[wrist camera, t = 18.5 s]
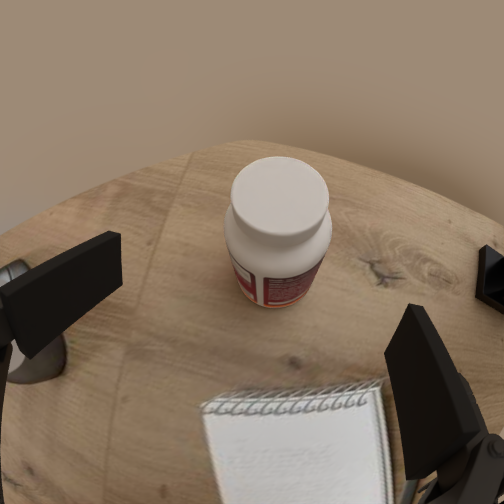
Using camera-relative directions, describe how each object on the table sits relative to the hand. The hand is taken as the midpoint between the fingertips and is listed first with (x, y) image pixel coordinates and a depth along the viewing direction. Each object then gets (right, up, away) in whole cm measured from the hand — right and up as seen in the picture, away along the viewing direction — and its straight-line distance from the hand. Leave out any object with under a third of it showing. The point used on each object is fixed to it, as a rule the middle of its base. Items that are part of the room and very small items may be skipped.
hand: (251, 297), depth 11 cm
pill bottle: (+2, 0, +11) cm, 12 cm away
